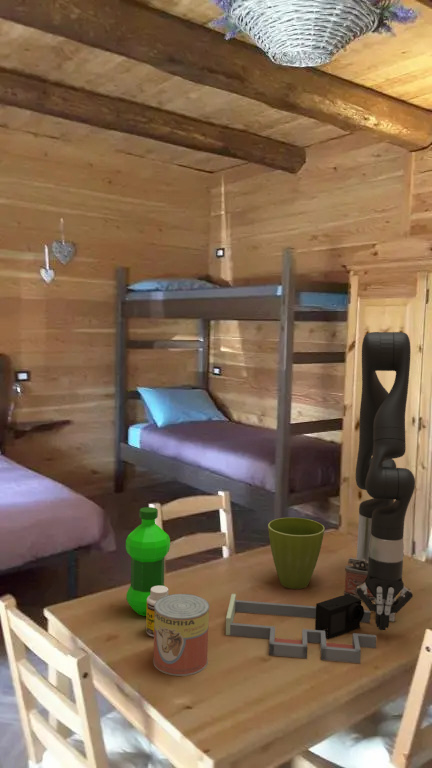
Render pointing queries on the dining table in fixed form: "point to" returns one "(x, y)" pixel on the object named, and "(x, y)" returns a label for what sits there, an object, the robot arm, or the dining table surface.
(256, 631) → the channel
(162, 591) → the supplement bottle
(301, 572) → the flower pot
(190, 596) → the canned food
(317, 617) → the digital camera
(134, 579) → the plastic bottle
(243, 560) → the dining table surface
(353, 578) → the lighter
